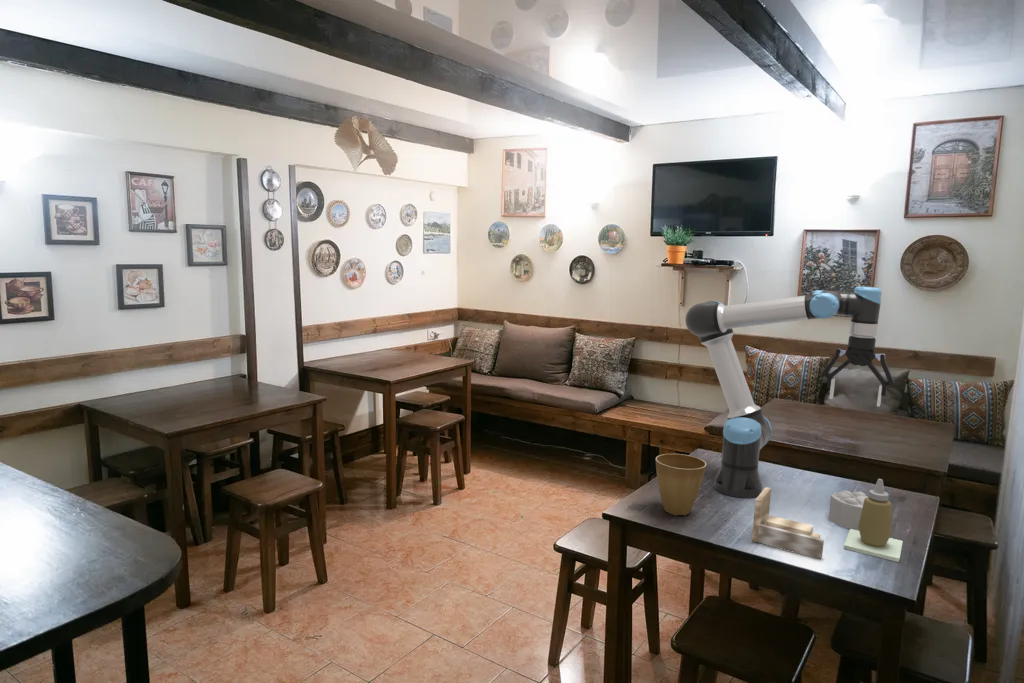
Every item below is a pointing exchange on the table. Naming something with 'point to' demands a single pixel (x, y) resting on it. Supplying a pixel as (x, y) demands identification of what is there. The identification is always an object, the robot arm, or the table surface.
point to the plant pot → (679, 481)
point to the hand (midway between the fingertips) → (854, 402)
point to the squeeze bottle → (876, 517)
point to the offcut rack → (784, 530)
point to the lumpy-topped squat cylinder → (846, 508)
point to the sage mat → (874, 547)
